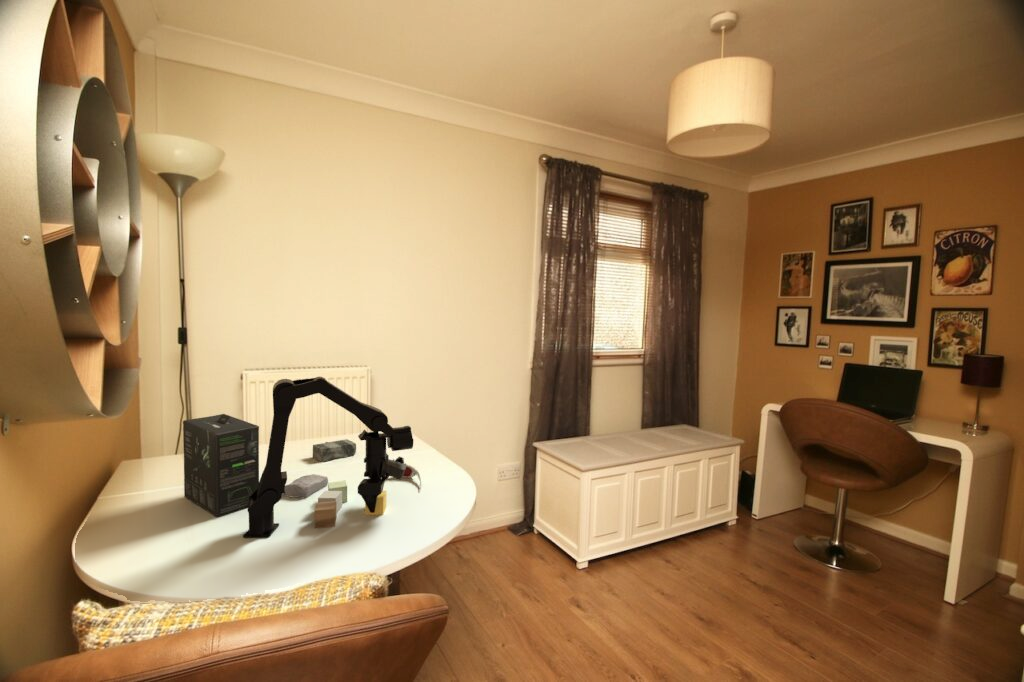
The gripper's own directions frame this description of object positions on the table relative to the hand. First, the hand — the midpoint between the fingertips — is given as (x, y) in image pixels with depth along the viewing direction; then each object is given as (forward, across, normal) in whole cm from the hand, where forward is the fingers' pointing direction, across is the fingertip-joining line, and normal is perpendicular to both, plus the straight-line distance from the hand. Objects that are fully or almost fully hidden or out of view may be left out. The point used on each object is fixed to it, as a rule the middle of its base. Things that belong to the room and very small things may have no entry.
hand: (375, 505), depth 131 cm
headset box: (+2, +9, +47) cm, 48 cm away
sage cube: (+2, +8, +13) cm, 15 cm away
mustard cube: (+2, 0, 0) cm, 2 cm away
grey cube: (+2, 0, +13) cm, 13 cm away
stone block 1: (+2, +16, +26) cm, 31 cm away
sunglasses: (+2, +19, -2) cm, 19 cm away
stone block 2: (+2, +50, +25) cm, 56 cm away
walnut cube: (+2, -7, +12) cm, 14 cm away
